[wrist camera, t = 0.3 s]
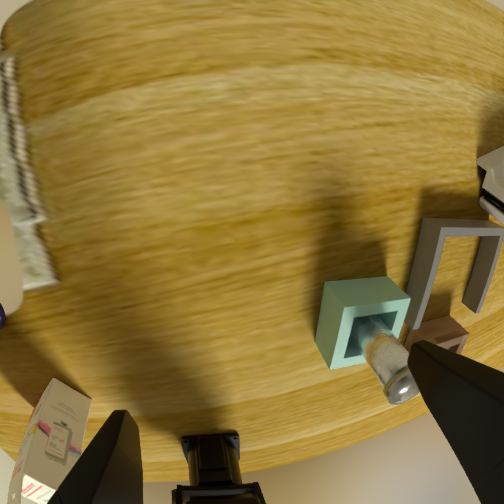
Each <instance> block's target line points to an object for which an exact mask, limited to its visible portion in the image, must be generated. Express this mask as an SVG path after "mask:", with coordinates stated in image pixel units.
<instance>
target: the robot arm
mask: <svg viewBox="0 0 504 504" xmlns="http://www.w3.org/2000/svg"><path fill="white" fill-rule="evenodd" d="M407 365H408V368H409V370H410V372H411V374H412V376H413V378H414V380H415V383H416V385H417V387H418V389H419V391H420V393H421V395H422V397H423V399H424V401H425V403H426V405H427V407H428V408H429V410H430V412H431V413H432V415H433V417H434V418H435V420H436V422H437V423H438V425H439V427H440V428H441V430H442V432H443V434H444V435H445V437H446V439H447V440H448V442H449V444H450V446H451V447H452V449H453V451H454V453H455V455H456V456H457V458H458V460H459V461H460V464H461V466H462V467H463V469H464V471H465V473H466V475H467V477H468V479H469V481H470V482H471V484H472V486H473V488H474V491H475V492H476V494H477V496H478V498H479V500H480V502H481V504H504V373H503V372H501V371H499V370H496V369H494V368H491V367H489V366H486V365H484V364H482V363H479V362H477V361H474V360H472V359H469V358H467V357H465V356H462V355H460V354H457V353H455V352H453V351H450V350H448V349H445V348H443V347H441V346H438V345H436V344H433V343H431V342H429V341H426V340H423V339H421V340H418V341H416V342H414V343H412V344H411V347H410V351H409V355H408V359H407ZM181 443H182V446H183V450H184V453H185V456H186V460H187V463H188V466H189V480H190V486H182V485H177V489H175V490H172V504H266V503H265V500H264V497H263V494H262V492H261V489H260V486H259V483H258V482H253V483H247V484H242V479H241V473H240V468H239V463H238V461H239V459H240V440H239V434H235V433H234V434H223V435H208V436H185V437H182V438H181ZM47 504H143V469H142V459H141V449H140V438H139V429H138V426H137V424H136V422H135V421H134V419H133V418H132V416H131V415H130V413H129V412H128V411H127V410H115V411H113V412H112V413H111V415H110V416H109V418H108V419H107V420H106V422H105V423H104V424H103V426H102V427H101V428H100V430H99V431H98V433H97V434H96V435H95V437H94V438H93V440H92V441H91V442H90V444H89V445H88V446H87V448H86V449H85V451H84V452H83V453H82V455H81V456H80V458H79V459H78V460H77V462H76V463H75V465H74V466H73V467H72V469H71V470H70V472H69V473H68V474H67V476H66V477H65V479H64V480H63V481H62V483H61V484H60V486H59V487H58V490H56V491H55V493H54V494H53V495H52V497H51V498H50V500H49V501H48V502H47Z"/></svg>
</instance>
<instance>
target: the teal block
mask: <svg viewBox="0 0 504 504" xmlns="http://www.w3.org/2000/svg"><path fill="white" fill-rule="evenodd" d="M410 300H411V298H410V297H409V296H408V295H407V294H406V293H405V292H404V291H403V290H402V289H401V288H400V287H398V286H397V285H396V284H395V283H394V282H393V281H392V280H391V279H390V278H389V277H387V276H383V277H372V278H361V279H350V280H338V281H326V282H325V283H324V289H323V296H322V302H321V308H320V314H319V320H318V326H317V331H316V337H315V343H316V344H317V346H318V348H319V350H320V352H321V354H322V356H323V358H324V360H325V362H326V364H327V365H328V367H329V369H330V370H331V369H336V368H341V367H347V366H352V365H356V364H361V363H366V362H367V361H366V360H365V358H364V357H363V355H362V354H361V352H360V351H359V349H358V348H357V346H356V345H355V343H354V342H353V340H352V339H351V337H350V332H351V328H352V324H353V320H354V317H361V316H368V315H374V314H377V315H378V316H379V317H380V319H381V320H382V321H383V322H384V323H385V325H386V326H387V327H388V328H389V329H390V331H391V332H392V333H393V334H394V335H395V337H396V338H397V339H398V337H399V334H400V331H401V328H402V325H403V322H404V319H405V316H406V313H407V309H408V306H409V303H410Z"/></svg>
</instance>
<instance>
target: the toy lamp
mask: <svg viewBox="0 0 504 504" xmlns="http://www.w3.org/2000/svg"><path fill="white" fill-rule="evenodd" d="M5 321H6V317H5V312H4V309H3V307H2V305H1V303H0V329H1V328H2V327H3V326H4V324H5Z"/></svg>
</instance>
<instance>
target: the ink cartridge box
mask: <svg viewBox="0 0 504 504" xmlns="http://www.w3.org/2000/svg"><path fill="white" fill-rule="evenodd" d="M91 403H92V399H90V398H88V397H86V396H84V395H82V394H81V393H79V392H77V391H75V390H74V389H72V388H70V387H69V386H67V385H65V384H64V383H62V382H61V381H59V380H57V379H56V378H52V380H51V381H50V383H49V384H48V386H47V388H46V389H45V391H44V392H43V394H42V396H41V398H40V399H39V401H38V403H37V404H36V406H35V408H34V409H33V412H32V415H31V418H30V420H29V423H28V426H27V429H26V432H25V434H24V437H23V440H22V443H21V447H20V450H19V453H18V457H17V460H16V463H15V467H14V471H13V474H12V478H11V482H10V486H9V494H8V503H7V504H21V495H22V496H24V497H26V498H28V499H31V500H32V501H34V502H36V503H39V504H47V502H48V501H49V500H50V498H51V497H52V495H53V494H54V493H55V491H56V490H58V487H59V486H60V484H61V483H62V481H63V480H64V479H65V477H66V476H67V474H68V473H69V472H70V470H71V469H72V467H73V466H74V465H75V463H76V462H77V460H78V459H79V458H80V456H81V451H82V445H83V440H84V435H85V430H86V425H87V420H88V416H89V411H90V407H91ZM15 493H16V495H15V498H14V500H12V498H13V495H14V494H15Z"/></svg>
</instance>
